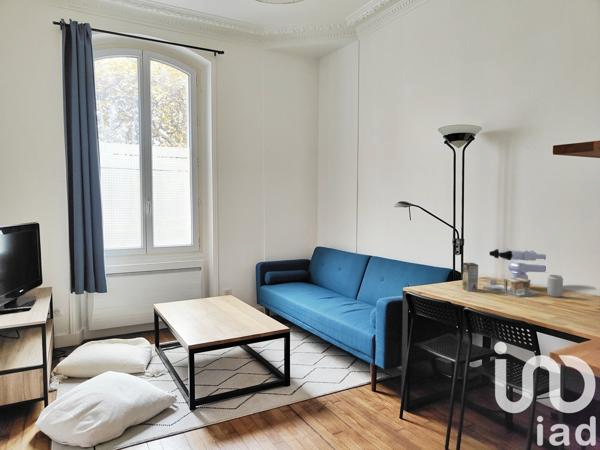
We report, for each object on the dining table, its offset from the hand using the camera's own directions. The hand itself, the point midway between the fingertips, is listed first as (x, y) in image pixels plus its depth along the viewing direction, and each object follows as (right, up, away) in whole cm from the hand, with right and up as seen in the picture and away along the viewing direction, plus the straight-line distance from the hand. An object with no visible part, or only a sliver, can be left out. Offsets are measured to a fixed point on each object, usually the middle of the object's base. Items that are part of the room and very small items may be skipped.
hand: (494, 254), depth 259 cm
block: (+8, -20, -11) cm, 24 cm away
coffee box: (-15, -22, -1) cm, 27 cm away
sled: (+5, -21, -4) cm, 21 cm away
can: (+26, -23, -18) cm, 39 cm away
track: (+6, -22, -6) cm, 23 cm away
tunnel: (+8, -21, -11) cm, 25 cm away
